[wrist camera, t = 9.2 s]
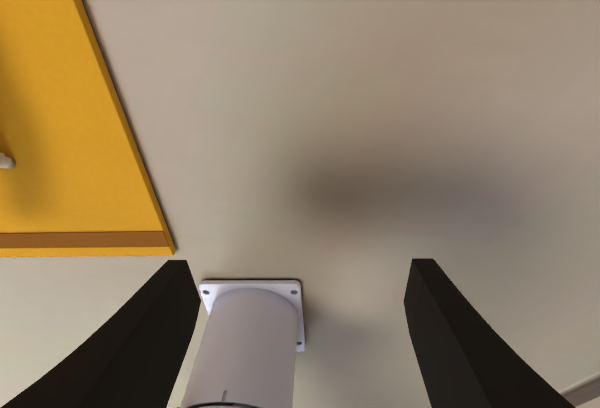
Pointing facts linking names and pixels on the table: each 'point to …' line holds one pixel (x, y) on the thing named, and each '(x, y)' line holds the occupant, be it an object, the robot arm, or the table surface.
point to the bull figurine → (7, 161)
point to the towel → (68, 144)
